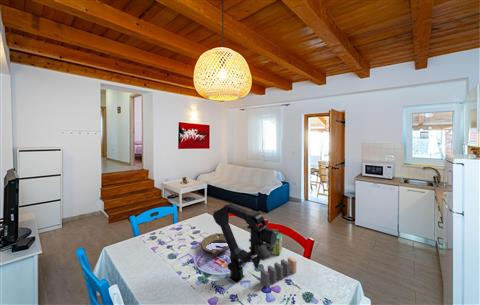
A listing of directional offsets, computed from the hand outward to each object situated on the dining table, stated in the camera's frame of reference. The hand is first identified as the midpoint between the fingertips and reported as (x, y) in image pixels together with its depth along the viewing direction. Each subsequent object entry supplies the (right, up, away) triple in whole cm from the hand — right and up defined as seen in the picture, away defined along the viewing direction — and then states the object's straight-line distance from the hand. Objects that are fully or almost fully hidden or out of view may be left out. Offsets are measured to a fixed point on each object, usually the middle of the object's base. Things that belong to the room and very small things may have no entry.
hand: (256, 267), depth 105 cm
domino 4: (+17, -10, +12) cm, 23 cm away
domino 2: (+9, -11, +7) cm, 15 cm away
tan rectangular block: (+22, -10, +14) cm, 28 cm away
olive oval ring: (-25, -9, +38) cm, 46 cm away
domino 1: (+5, -11, +4) cm, 12 cm away
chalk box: (+15, -9, +35) cm, 39 cm away
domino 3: (+13, -10, +9) cm, 19 cm away
